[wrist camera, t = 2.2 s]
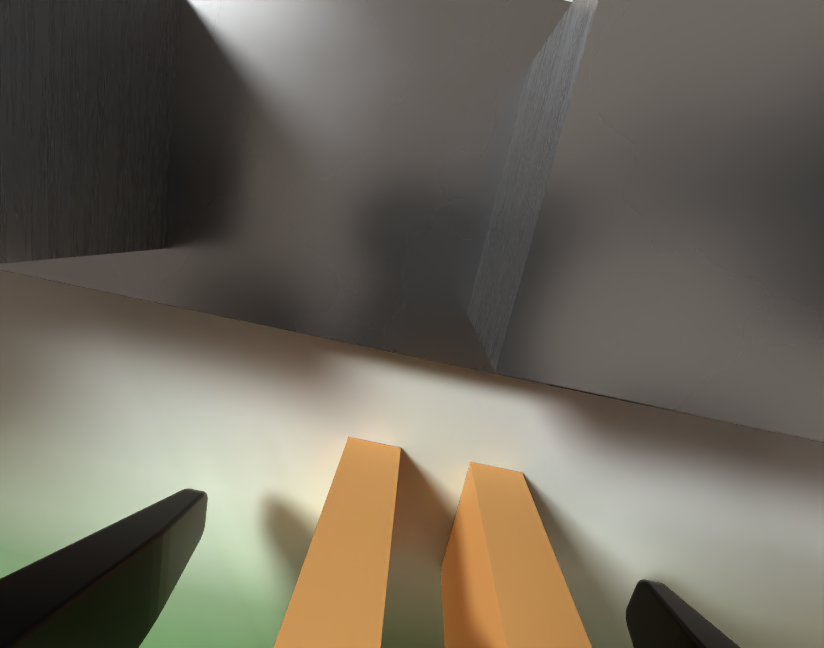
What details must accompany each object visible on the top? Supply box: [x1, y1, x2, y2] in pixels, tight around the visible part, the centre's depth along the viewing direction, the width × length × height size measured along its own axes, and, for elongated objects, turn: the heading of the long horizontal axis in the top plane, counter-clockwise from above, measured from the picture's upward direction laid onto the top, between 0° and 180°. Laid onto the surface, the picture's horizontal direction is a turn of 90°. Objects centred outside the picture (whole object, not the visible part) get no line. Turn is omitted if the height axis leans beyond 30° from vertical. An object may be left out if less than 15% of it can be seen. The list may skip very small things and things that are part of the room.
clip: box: [274, 437, 592, 648], centre depth 7 cm, size 4×3×6 cm
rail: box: [0, 0, 824, 443], centre depth 6 cm, size 20×6×4 cm, turn 78°
